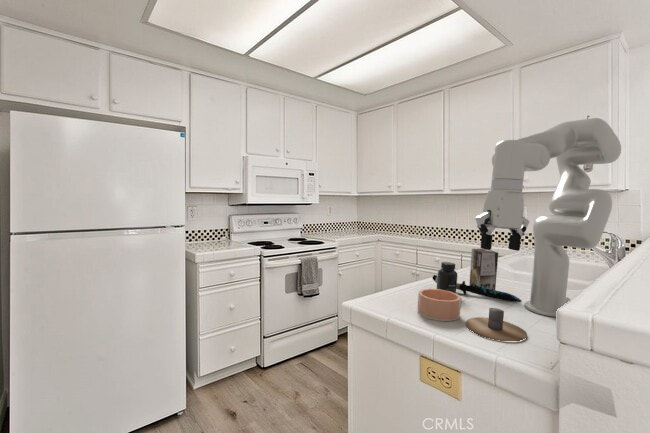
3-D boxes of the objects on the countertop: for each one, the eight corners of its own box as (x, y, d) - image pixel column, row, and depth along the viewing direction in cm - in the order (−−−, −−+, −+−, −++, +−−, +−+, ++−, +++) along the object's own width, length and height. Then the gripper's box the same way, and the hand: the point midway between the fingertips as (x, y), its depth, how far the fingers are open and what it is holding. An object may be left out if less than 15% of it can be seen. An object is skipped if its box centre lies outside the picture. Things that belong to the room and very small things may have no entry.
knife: (430, 285, 127) (432, 274, 127) (432, 283, 130) (434, 272, 129) (520, 310, 112) (522, 298, 112) (520, 308, 115) (522, 296, 114)
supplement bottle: (452, 299, 115) (455, 266, 114) (433, 295, 119) (435, 263, 119) (458, 295, 121) (460, 263, 120) (439, 291, 125) (441, 260, 124)
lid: (488, 317, 100) (490, 298, 100) (539, 338, 87) (541, 316, 86) (453, 324, 94) (455, 304, 93) (502, 348, 80) (504, 324, 80)
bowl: (438, 304, 109) (439, 287, 109) (467, 318, 98) (469, 298, 98) (410, 309, 104) (411, 291, 103) (438, 323, 93) (439, 303, 92)
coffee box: (495, 295, 123) (499, 252, 121) (478, 294, 123) (481, 252, 121) (484, 287, 132) (487, 248, 130) (468, 287, 132) (471, 247, 131)
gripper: (519, 189, 95) (513, 248, 95) (470, 184, 89) (464, 246, 90) (543, 189, 87) (536, 252, 88) (491, 184, 82) (484, 251, 83)
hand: (499, 249), depth 89 cm, fingers open, 9 cm apart
